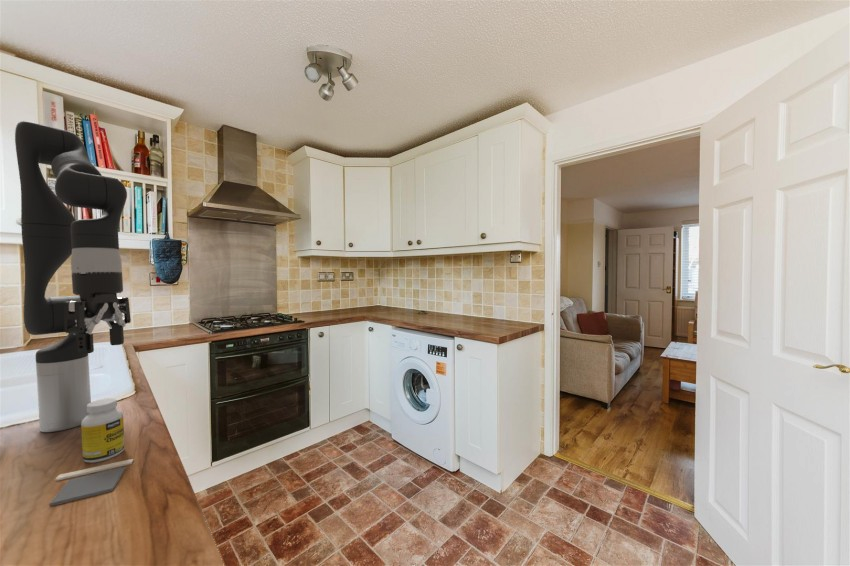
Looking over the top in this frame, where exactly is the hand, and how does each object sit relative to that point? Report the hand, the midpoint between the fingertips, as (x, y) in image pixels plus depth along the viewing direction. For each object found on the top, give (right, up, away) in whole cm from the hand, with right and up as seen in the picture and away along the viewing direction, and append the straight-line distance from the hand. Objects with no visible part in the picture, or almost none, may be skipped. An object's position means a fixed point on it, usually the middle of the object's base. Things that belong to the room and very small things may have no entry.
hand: (102, 348), depth 70 cm
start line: (+2, -23, -3) cm, 24 cm away
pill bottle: (-2, -24, +2) cm, 24 cm away
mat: (+6, -24, -8) cm, 26 cm away
